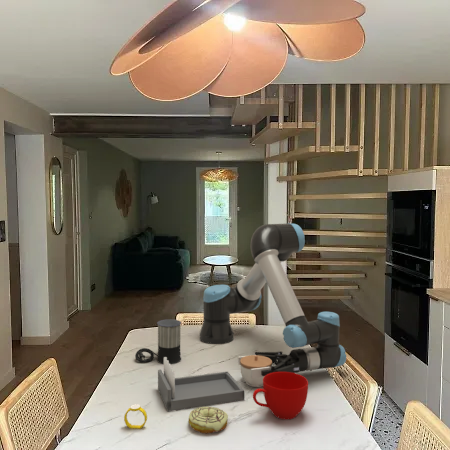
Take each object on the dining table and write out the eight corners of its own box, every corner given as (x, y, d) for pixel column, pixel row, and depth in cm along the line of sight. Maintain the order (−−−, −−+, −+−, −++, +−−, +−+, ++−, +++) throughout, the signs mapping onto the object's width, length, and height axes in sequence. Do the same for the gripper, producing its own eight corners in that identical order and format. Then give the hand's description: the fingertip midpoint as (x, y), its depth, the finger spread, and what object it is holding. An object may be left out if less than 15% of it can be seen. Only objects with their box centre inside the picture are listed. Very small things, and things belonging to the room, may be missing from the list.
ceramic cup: (242, 411, 129) (242, 377, 129) (291, 400, 136) (292, 368, 136) (264, 432, 117) (264, 395, 117) (316, 419, 124) (317, 385, 124)
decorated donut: (225, 437, 115) (225, 423, 115) (184, 434, 116) (185, 420, 116) (229, 417, 125) (229, 405, 125) (192, 415, 127) (192, 402, 126)
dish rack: (158, 389, 144) (157, 356, 143) (227, 380, 151) (227, 348, 151) (167, 411, 128) (167, 374, 128) (244, 400, 136) (244, 365, 136)
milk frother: (185, 361, 169) (186, 323, 168) (149, 370, 159) (149, 330, 158) (166, 351, 180) (166, 315, 179) (131, 359, 170) (131, 321, 170)
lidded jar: (270, 391, 142) (270, 363, 141) (237, 388, 144) (237, 360, 143) (273, 378, 152) (273, 351, 152) (242, 375, 154) (242, 349, 154)
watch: (124, 430, 118) (122, 409, 118) (126, 425, 121) (125, 404, 121) (146, 430, 118) (144, 408, 118) (148, 424, 121) (146, 403, 120)
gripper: (321, 383, 143) (258, 392, 136) (288, 358, 165) (232, 365, 158) (321, 360, 142) (258, 368, 135) (288, 339, 164) (233, 344, 157)
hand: (244, 366), depth 146 cm, fingers closed on lidded jar, 11 cm apart
